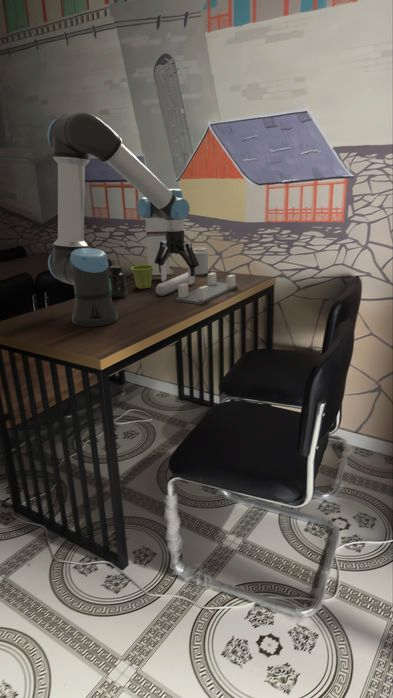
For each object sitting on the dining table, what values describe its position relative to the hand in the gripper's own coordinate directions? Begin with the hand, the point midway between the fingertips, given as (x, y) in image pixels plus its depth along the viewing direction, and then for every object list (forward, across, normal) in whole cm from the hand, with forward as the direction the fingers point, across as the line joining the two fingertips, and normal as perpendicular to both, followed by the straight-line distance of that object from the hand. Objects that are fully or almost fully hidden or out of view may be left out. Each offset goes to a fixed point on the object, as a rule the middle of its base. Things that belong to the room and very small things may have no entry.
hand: (177, 282), depth 204 cm
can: (+4, +7, -30) cm, 31 cm away
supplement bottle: (+3, +15, +20) cm, 26 cm away
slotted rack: (+3, -15, 0) cm, 15 cm away
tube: (+3, +1, 0) cm, 4 cm away
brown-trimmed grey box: (+3, +21, -17) cm, 27 cm away
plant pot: (+3, +15, +3) cm, 16 cm away
